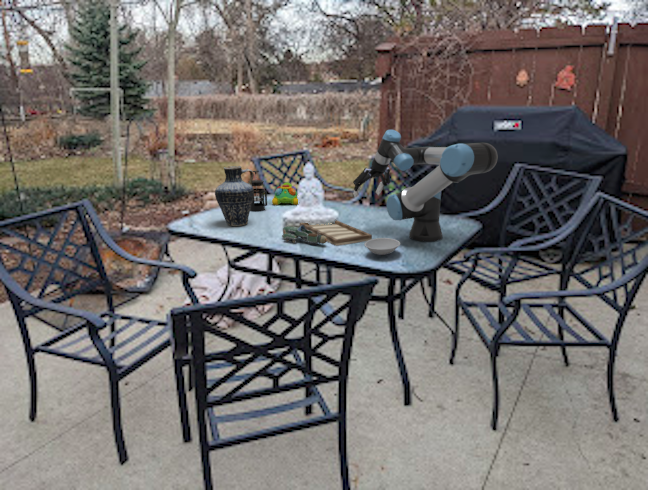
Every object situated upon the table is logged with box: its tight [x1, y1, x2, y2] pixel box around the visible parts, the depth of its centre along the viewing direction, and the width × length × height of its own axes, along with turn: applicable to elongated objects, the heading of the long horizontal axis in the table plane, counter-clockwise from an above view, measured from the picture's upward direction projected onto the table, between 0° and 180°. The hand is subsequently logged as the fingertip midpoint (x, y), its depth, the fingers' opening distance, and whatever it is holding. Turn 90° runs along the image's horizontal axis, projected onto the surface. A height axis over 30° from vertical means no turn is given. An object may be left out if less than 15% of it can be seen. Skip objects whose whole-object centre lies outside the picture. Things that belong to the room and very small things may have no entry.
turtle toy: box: [271, 181, 299, 206], centre depth 311 cm, size 17×23×12 cm
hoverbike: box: [281, 224, 328, 246], centre depth 225 cm, size 10×25×8 cm, turn 55°
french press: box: [247, 170, 268, 213], centre depth 289 cm, size 12×9×23 cm
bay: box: [299, 219, 373, 247], centre depth 241 cm, size 37×19×2 cm, turn 28°
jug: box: [214, 165, 255, 227], centre depth 255 cm, size 21×19×30 cm
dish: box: [363, 237, 401, 256], centre depth 208 cm, size 18×14×5 cm
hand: (366, 194), depth 247 cm, fingers open, 13 cm apart
